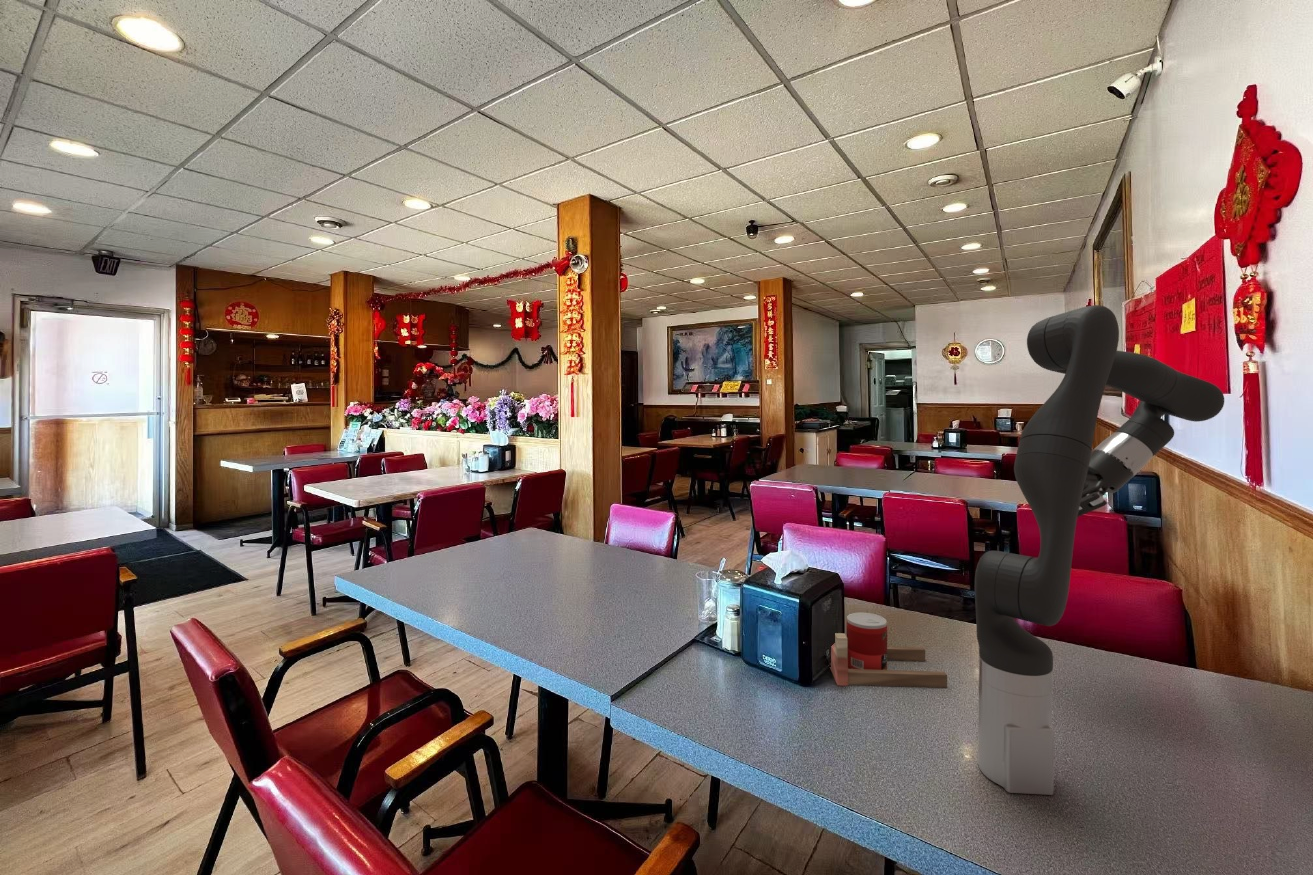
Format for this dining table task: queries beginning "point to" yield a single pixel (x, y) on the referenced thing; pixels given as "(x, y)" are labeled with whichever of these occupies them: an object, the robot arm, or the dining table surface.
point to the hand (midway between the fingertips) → (1042, 526)
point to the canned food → (866, 641)
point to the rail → (883, 676)
